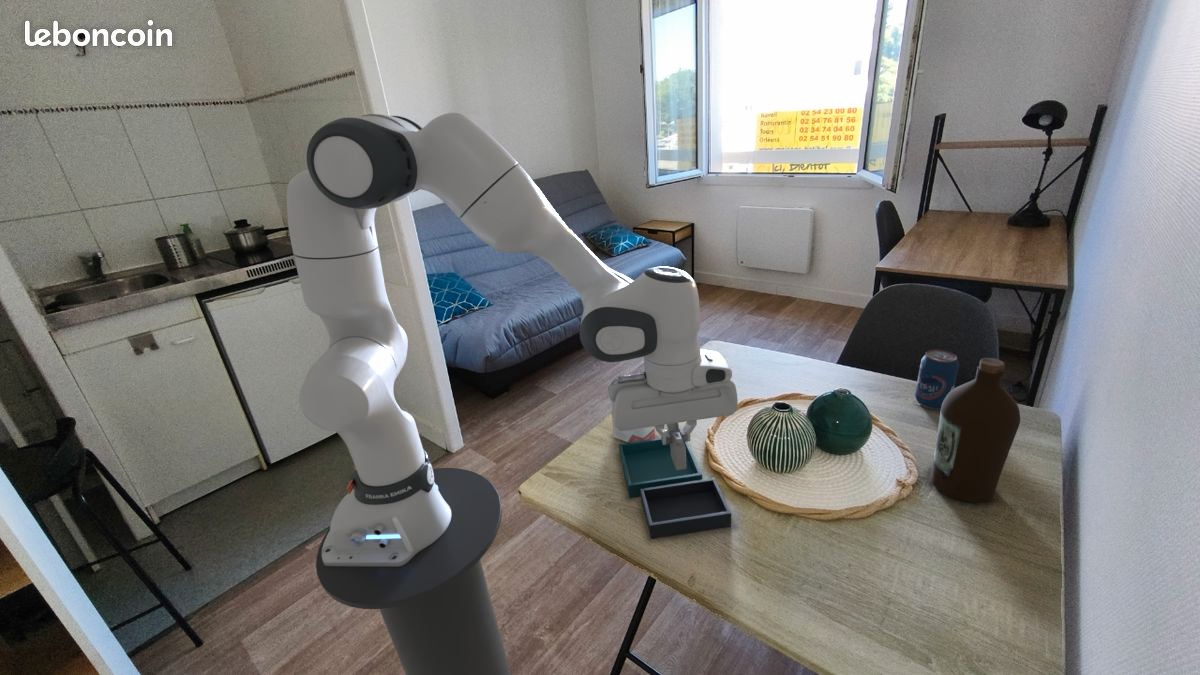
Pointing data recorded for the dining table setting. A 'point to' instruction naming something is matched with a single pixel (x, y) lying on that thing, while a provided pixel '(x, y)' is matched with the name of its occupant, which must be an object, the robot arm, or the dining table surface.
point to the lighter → (677, 447)
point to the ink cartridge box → (632, 431)
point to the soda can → (936, 378)
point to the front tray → (684, 508)
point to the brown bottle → (975, 435)
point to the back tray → (654, 466)
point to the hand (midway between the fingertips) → (675, 441)
